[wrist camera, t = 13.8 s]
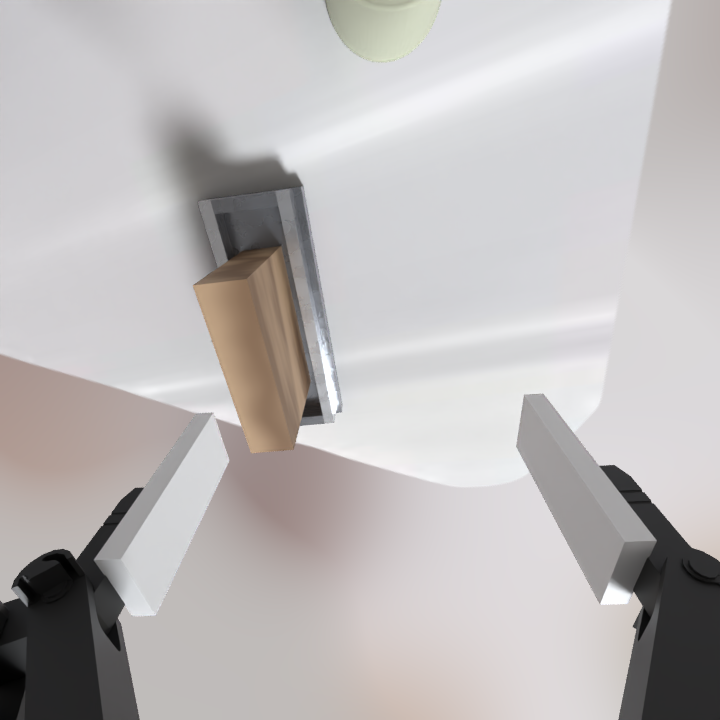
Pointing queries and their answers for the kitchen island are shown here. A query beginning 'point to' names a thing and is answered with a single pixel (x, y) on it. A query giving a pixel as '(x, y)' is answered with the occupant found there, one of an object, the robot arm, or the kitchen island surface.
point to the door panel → (258, 345)
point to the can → (382, 26)
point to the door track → (293, 233)
